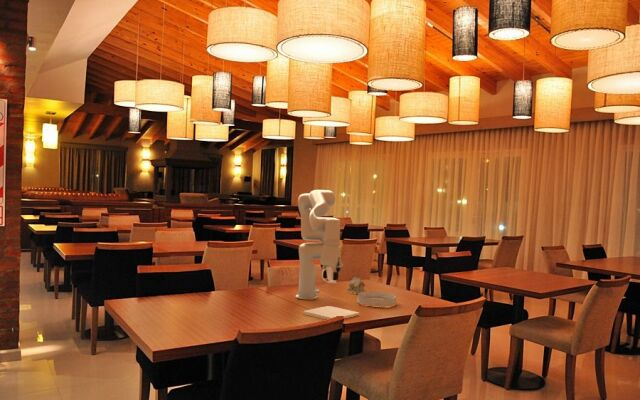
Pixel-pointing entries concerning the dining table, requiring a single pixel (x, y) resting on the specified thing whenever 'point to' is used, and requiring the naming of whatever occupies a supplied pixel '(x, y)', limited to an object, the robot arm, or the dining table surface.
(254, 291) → the dining table surface
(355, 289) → the ceramic model
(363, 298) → the dish
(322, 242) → the robot arm
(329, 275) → the cup
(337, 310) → the board
